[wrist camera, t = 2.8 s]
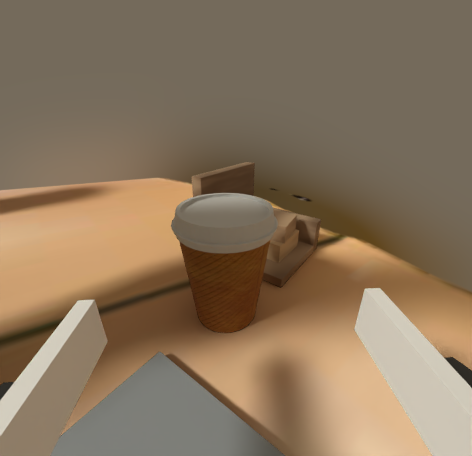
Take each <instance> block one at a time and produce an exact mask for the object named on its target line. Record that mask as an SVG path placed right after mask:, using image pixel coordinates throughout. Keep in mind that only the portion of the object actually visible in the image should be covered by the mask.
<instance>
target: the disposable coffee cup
mask: <svg viewBox="0 0 472 456" xmlns="http://www.w3.org/2000/svg"><path fill="white" fill-rule="evenodd" d="M277 226H278V222H277V219H276V217H275V216H274V211H273V207H272V205H271V204H270V203H269V202H267V201H265V200H264V199H261V198H258V197H255V196H252V195H246V194H239V193H214V194H205V195H200V196H196V197H193V198H189V199H187V200H185V201H183V202H181V203H180V204H179V205H178V206H177V208H176V211H175V218H174V219H173V220H172V224H171V227H172V230H173V232H174V234H175V235H176V237H177V239H178V240H179V241H180V246H181V249H182V253H183V257H184V262H185V266H186V269H187V273H188V278H189V281H190V285H191V289H192V293H193V297H194V301H195V306H196V310H197V313H198V318H199V320H200V321H201V323H202V324H203V325H204V326H205V327H207V328H209V329H211V330H213V331H217V332H224V333H228V332H234V331H238V330H241V329H243V328H245V327H246V326H247V325H249V323H250V322H251V321H252V320H253V318H254V315H255V310H256V306H257V301H258V296H259V291H260V287H261V282H262V277H263V273H264V268H265V264H266V259H267V254H268V249H269V245H270V240H271V238H272V237H273V235H274V233H275V231H276V229H277Z"/></svg>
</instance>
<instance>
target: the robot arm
mask: <svg viewBox="0 0 472 456" xmlns="http://www.w3.org/2000/svg"><path fill="white" fill-rule="evenodd" d="M354 330H355V331H356V333H357V335H358V336H359V338H360V339H361V341H362V343H363V344H364V346H365V348H366V349H367V351H368V352H369V354H370V356H371V357H372V359H373V360H374V362H375V364H376V365H377V367H378V369H379V370H380V372H381V373H382V375H383V377H384V378H385V380H386V381H387V383H388V385H389V386H390V388H391V389H392V391H393V393H394V394H395V396H396V398H397V399H398V401H399V402H400V404H401V406H402V407H403V409H404V410H405V412H406V414H407V415H408V417H409V419H410V420H411V422H412V423H413V425H414V427H415V428H416V430H417V431H418V433H419V435H420V436H421V438H422V439H423V441H424V443H425V444H426V446H427V448H428V449H429V451H430V452H431V454H432V456H472V371H471V370H470V369H469V368H467V367H466V366H465V365H463V364H462V363H460V362H459V361H457V360H456V359H455V358H453V357H448V358H444V357H443V356H442V355H441V354H440V353H439V352H438V351H437V350H436V349H435V347H434V346H433V345H432V344H431V343H430V342H429V341H428V340H427V339H426V338H425V337H424V335H423V334H422V333H421V332H420V331H419V330H418V329H417V328H416V327H415V326H414V325H413V323H412V322H411V321H410V320H409V319H408V318H407V317H406V316H405V315H404V314H403V313H402V312H401V310H400V309H399V308H398V307H397V306H396V305H395V304H394V303H393V302H392V301H391V300H390V298H389V297H388V296H387V295H386V294H385V293H384V292H383V291H382V290H381V289H380V288H365V290H364V294H363V298H362V302H361V305H360V309H359V313H358V317H357V321H356V325H355V329H354ZM107 342H108V341H107V337H106V334H105V331H104V328H103V325H102V321H101V318H100V315H99V312H98V308H97V305H96V302H95V300H78V301H77V302H76V304H75V305H74V306H73V308H72V309H71V310H70V311H69V313H68V314H67V315H66V317H65V318H64V319H63V320H62V322H61V323H60V324H59V326H58V327H57V328H56V329H55V331H54V332H53V333H52V335H51V336H50V337H49V338H48V340H47V341H46V342H45V344H44V345H43V346H42V347H41V349H40V350H39V351H38V353H37V354H36V355H35V356H34V358H33V359H32V360H31V362H30V363H29V364H28V365H27V367H26V368H25V369H24V371H23V372H22V373H21V374H20V376H19V377H18V378H17V380H16V381H15V382H6V383H3V384H2V385H0V456H50V455H51V453H52V451H53V449H54V447H55V445H56V443H57V441H58V439H59V437H60V435H61V433H62V431H63V429H64V427H65V425H66V423H67V421H68V419H69V417H70V415H71V413H72V411H73V409H74V407H75V405H76V403H77V401H78V399H79V397H80V395H81V393H82V392H83V390H84V388H85V386H86V384H87V382H88V380H89V378H90V376H91V374H92V372H93V370H94V368H95V366H96V364H97V362H98V360H99V358H100V356H101V354H102V352H103V350H104V348H105V346H106V344H107Z"/></svg>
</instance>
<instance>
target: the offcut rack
mask: <svg viewBox="0 0 472 456" xmlns="http://www.w3.org/2000/svg"><path fill="white" fill-rule="evenodd" d="M254 165H255V163H250V162H245V163H241V164H237V165H234V166H230V167H226V168H222V169H218V170H214V171H211V172H207V173H202V174H199V175H195V176H192V188H193V197H196V196H200V195H205V194H214V193H239V194H246V195H252V196H253V193H254ZM273 210H276V211H282V212H287V213H292V212H288V211H284V210H280V209H276V208H273ZM292 214H297V213H292ZM320 223H321V220H320V219H317V218H313V217H309V216H305V215H300V214H297V220H296V230H299V236H298V244H297V246H296V247H295V248H294V249H293V250H292V251H291V252H290V253H289V254H288V255H287V256H286V257H285V258H284V259H283V260H281V261H280V262H279V263H277V262H274V261H272V260H269V259H266V264H265V268H264V273H263V277H262V280H265V281H267V282H269V283H272V284H274V285H276V286H279V287H282V286H283V285H284V284H285V282H286V281H287V280H288V279H289V278H290V277H291V276H292V275H293V274H294V272H295V271H296V270H297V269H298V268H299V267H300V266H301V265H302V264H303V263H304V261H305V260H306V259H307V258H308V257H309V256H310V255H311V254H312V253H313V251H314V250H315V249H316V247H317V241H318V235H319V229H320Z"/></svg>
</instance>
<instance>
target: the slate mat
mask: <svg viewBox="0 0 472 456" xmlns="http://www.w3.org/2000/svg"><path fill="white" fill-rule="evenodd" d="M50 456H285V455H284V454H283V453H281V452H280V451H279V450H278V449H277V448H275V447H274V446H273V445H272V444H271V443H269V442H268V441H267V440H266V439H265V438H263V437H262V436H261V435H260V434H259V433H257V432H256V431H255V430H254V429H253V428H251V427H250V426H249V425H248V424H247V423H245V422H244V421H243V420H242V419H241V418H239V417H238V416H237V415H236V414H235V413H233V412H232V411H231V410H230V409H229V408H227V407H226V406H225V405H224V404H222V403H221V402H220V401H219V400H218V399H216V398H215V397H214V396H213V395H212V394H210V393H209V392H208V391H207V390H206V389H204V388H203V387H202V386H201V385H200V384H198V383H197V382H196V381H195V380H194V379H192V378H191V377H190V376H189V375H188V374H186V373H185V372H184V371H183V370H182V369H180V368H179V367H178V366H177V365H176V364H174V363H173V362H172V361H171V360H170V359H168V358H167V357H166V356H165V355H164V354H162V353H161V352H158V353H157V354H156V355H155V356H154V357H152V358H151V359H150V360H149V361H148V362H147V363H145V364H144V365H143V366H142V367H141V368H140V369H138V370H137V371H136V372H135V373H134V374H133V375H131V376H130V377H129V378H128V379H127V380H126V381H124V382H123V383H122V384H121V385H120V386H119V387H117V388H116V389H115V390H114V391H113V392H112V393H110V394H109V395H108V396H107V397H106V398H105V399H103V400H102V401H101V402H100V403H99V404H98V405H96V406H95V407H94V408H93V409H92V410H91V411H89V412H88V413H87V414H86V415H85V416H83V417H82V418H81V419H80V420H79V421H78V422H76V423H75V424H74V425H73V426H72V427H71V428H69V429H68V430H67V431H66V432H65V433H64V434H62V435H61V436H60V437H59V439H58V441H57V443H56V445H55V447H54V449H53V451H52V453H51V455H50Z"/></svg>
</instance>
